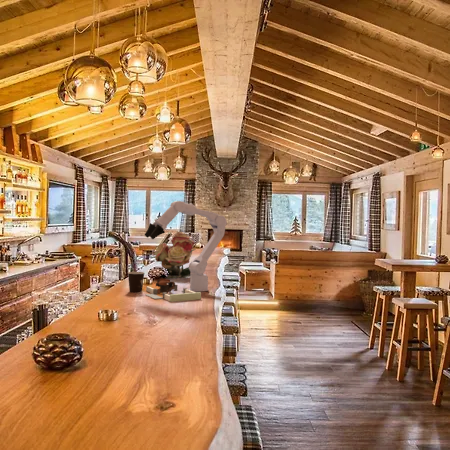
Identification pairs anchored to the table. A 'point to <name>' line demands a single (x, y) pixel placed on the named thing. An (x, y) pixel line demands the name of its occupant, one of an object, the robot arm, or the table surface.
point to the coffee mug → (135, 281)
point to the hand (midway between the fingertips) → (148, 237)
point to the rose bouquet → (175, 255)
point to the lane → (174, 295)
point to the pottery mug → (165, 285)
